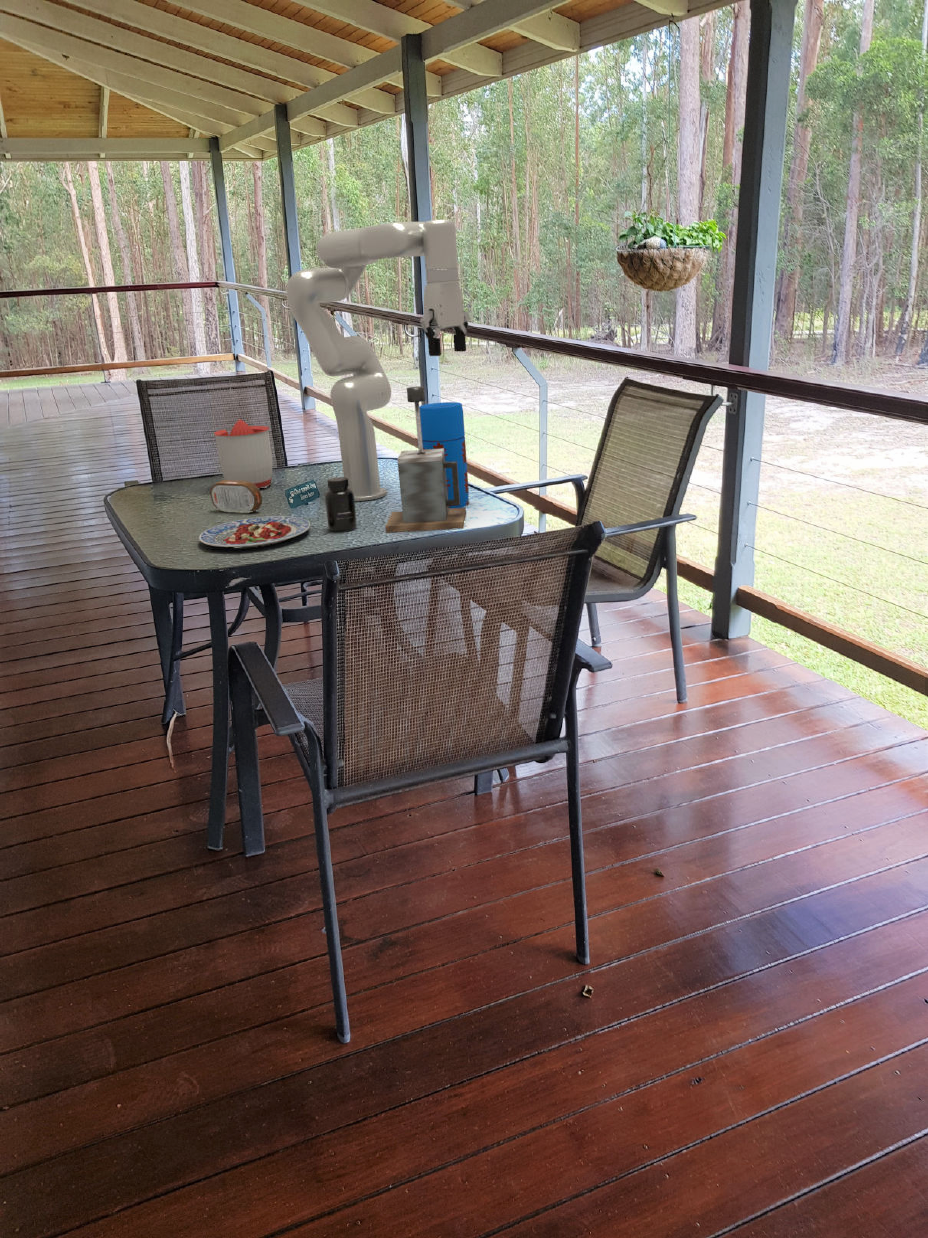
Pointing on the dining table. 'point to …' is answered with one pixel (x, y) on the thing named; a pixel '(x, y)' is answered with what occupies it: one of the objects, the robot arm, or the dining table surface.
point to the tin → (236, 495)
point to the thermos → (447, 441)
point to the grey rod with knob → (417, 409)
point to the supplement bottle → (340, 505)
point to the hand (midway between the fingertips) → (448, 353)
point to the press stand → (426, 493)
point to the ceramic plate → (256, 531)
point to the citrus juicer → (245, 454)
